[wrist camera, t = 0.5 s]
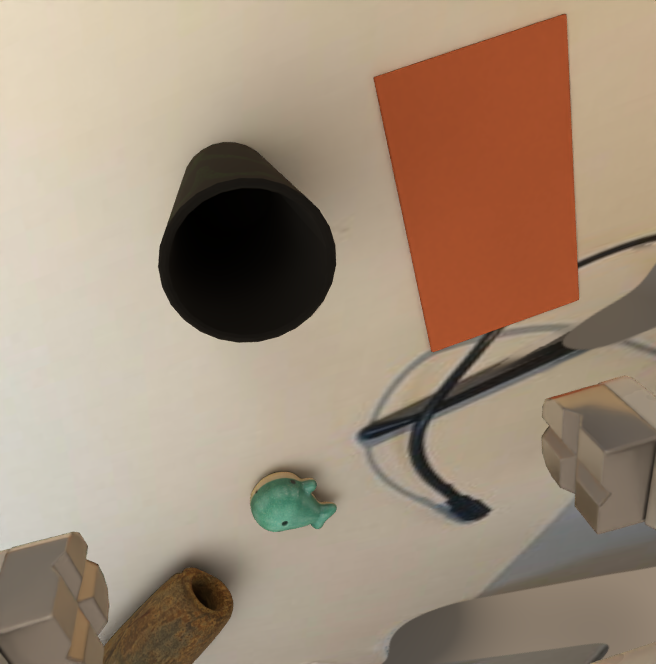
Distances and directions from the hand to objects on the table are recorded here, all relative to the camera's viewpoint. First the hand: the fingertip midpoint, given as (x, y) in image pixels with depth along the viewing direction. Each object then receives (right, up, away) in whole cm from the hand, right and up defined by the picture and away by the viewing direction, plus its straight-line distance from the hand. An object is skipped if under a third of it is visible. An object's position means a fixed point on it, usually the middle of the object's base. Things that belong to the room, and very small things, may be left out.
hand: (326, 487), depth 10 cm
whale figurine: (-3, -11, +39) cm, 41 cm away
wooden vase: (-15, -22, +43) cm, 50 cm away
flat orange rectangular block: (+11, +11, +30) cm, 34 cm away
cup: (-6, +11, +26) cm, 29 cm away
